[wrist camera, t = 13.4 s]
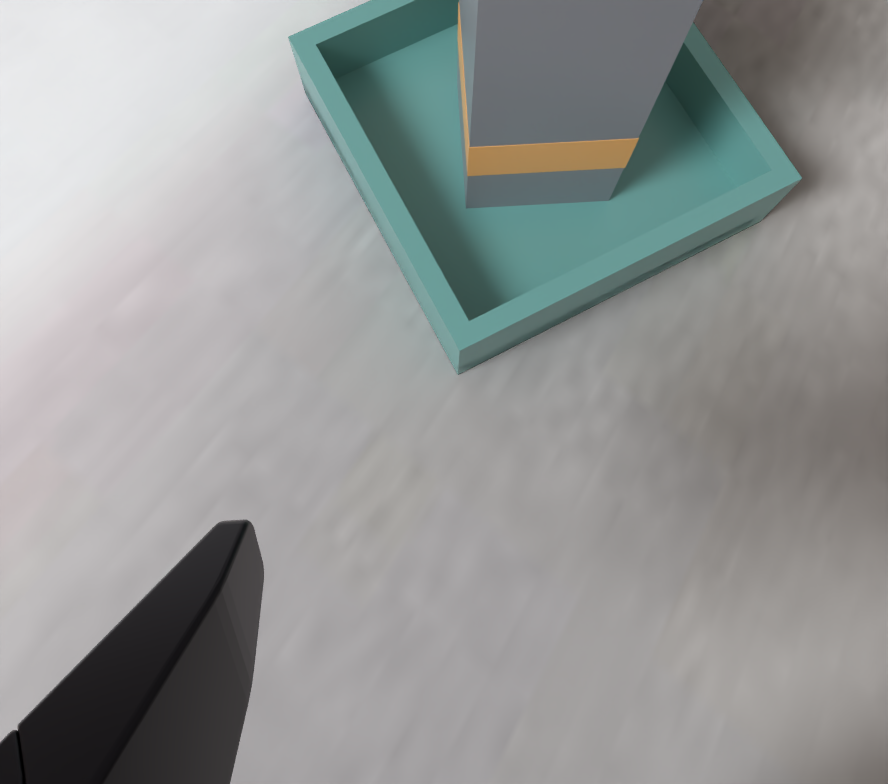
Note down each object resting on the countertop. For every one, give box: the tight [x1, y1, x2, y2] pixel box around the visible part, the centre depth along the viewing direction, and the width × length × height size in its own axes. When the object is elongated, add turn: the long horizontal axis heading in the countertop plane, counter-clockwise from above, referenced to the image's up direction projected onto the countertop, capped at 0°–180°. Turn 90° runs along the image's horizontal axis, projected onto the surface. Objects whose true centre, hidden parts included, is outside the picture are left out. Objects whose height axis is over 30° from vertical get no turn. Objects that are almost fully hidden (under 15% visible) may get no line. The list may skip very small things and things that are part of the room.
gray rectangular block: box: [457, 0, 703, 209], centre depth 19 cm, size 5×5×11 cm
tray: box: [288, 0, 802, 375], centre depth 24 cm, size 12×12×3 cm
